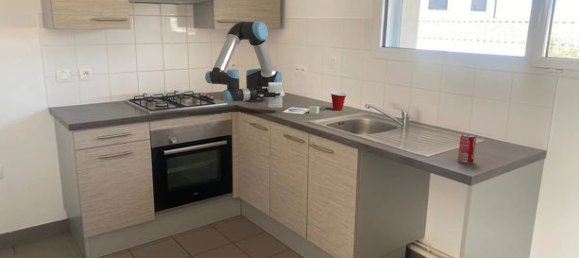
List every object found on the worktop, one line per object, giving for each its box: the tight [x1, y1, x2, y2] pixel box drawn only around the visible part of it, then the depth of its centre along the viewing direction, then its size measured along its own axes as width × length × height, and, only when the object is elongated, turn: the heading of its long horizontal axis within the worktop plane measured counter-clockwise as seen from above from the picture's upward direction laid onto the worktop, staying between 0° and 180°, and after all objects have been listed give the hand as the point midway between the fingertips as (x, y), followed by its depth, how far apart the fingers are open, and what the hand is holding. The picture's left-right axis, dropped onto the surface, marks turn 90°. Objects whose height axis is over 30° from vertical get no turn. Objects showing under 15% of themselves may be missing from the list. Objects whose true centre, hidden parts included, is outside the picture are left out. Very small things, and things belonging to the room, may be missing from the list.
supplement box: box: [267, 81, 283, 109], centre depth 282 cm, size 9×9×15 cm
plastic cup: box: [330, 91, 347, 112], centre depth 291 cm, size 11×11×12 cm
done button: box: [308, 105, 320, 115], centre depth 281 cm, size 5×5×4 cm
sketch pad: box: [282, 106, 309, 115], centre depth 287 cm, size 16×13×1 cm
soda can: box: [457, 133, 477, 165], centre depth 188 cm, size 6×6×12 cm
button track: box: [319, 106, 326, 112], centre depth 285 cm, size 14×8×2 cm, turn 160°
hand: (280, 92), depth 283 cm, fingers closed on supplement box, 11 cm apart
